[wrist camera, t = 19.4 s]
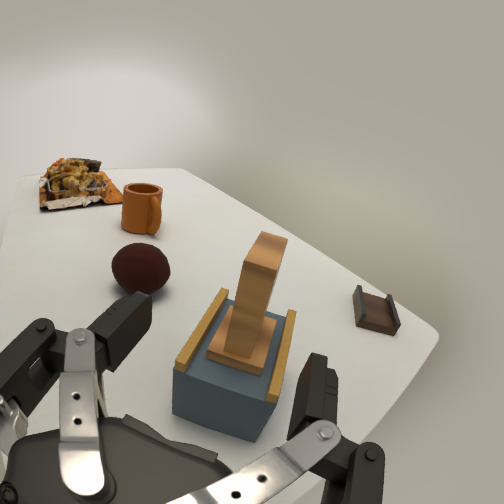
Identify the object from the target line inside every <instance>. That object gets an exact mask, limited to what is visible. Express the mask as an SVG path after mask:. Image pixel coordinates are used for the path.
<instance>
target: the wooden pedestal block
mask: <svg viewBox="0 0 504 504" xmlns="http://www.w3.org/2000/svg"><path fill="white" fill-rule="evenodd" d="M287 241H288V239H286V238H283V237H280V236H276V235H273V234H270V233H266V232H263V231H261V233H260V235H259V236H258V238H257V239H256V241H255V243H254V244H253V246H252V248H251V249H250V251H249V252H248V254H247V256H246V257H245V259H244V261H243V266H242V270H241V274H240V279H239V283H238V287H237V292H236V296H235V301H234V305H233V306H230V308H229V309H228V311H227V313H226V315H225V317H224V319H223V321H222V322H221V324H220V326H219V328H218V330H217V332H216V334H215V335H214V337H213V339H212V341H211V343H210V345H209V347H208V348H207V353H206V358H207V359H210V360H213V361H216V362H218V363H221V364H224V365H227V366H230V367H233V368H236V369H239V370H242V371H245V372H248V373H251V374H255V375H258V376H260V375H261V372H262V370H263V367H264V364H265V360H266V357H267V353H268V350H269V346H270V343H271V339H272V336H273V332H274V329H275V325H276V322H277V320H275V319H272V318H269V317H266V316H265V314H266V311H267V308H268V304H269V301H270V298H271V295H272V291H273V288H274V285H275V282H276V278H277V275H278V272H279V268H280V265H281V262H282V258H283V255H284V252H285V248H286V245H287Z"/></svg>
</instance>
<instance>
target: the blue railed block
mask: <svg viewBox="0 0 504 504" xmlns="http://www.w3.org/2000/svg"><path fill="white" fill-rule="evenodd" d="M228 293H229V290H227V289H224V288H221V289H220V291H219V293H218V294H217V296H216V297H215V299H214V300H213V302H212V303H211V305H210V307H209V308H208V310H207V311H206V313H205V314H204V316H203V318H202V319H201V321H200V322H199V324H198V325H197V327H196V328H195V330H194V332H193V333H192V335H191V336H190V338H189V339H188V341H187V343H186V344H185V346H184V347H183V349H182V350H181V352H180V354H179V355H178V357H177V358H176V360H175V366H174V368H173V394H172V413H173V414H175V415H177V416H180V417H182V418H185V419H187V420H190V421H192V422H195V423H197V424H200V425H203V426H205V427H208V428H211V429H214V430H217V431H219V432H222V433H225V434H229V435H232V436H235V437H238V438H241V439H245V440H248V441H252V442H256V440H257V438H258V437H259V435H260V433H261V432H262V430H263V428H264V426H265V425H266V423H267V421H268V419H269V418H270V416H271V414H272V412H273V410H274V409H275V407H276V405H277V401H278V397H279V395H280V390H281V386H282V381H283V377H284V372H285V367H286V363H287V358H288V353H289V348H290V343H291V338H292V333H293V327H294V322H295V317H296V311H294V310H290V309H289V310H288V313H287V315H286V317H284V316H280V315H277V314H274V313H270V312H267V311H266V314H265V316H266V317H269V318H272V319H275V320H277V322H276V325H275V329H274V332H273V336H272V339H271V343H270V346H269V350H268V353H267V357H266V360H265V364H264V367H263V370H262V372H261V375H260V376H258V375H255V374H251V373H248V372H245V371H242V370H239V369H236V368H233V367H230V366H227V365H224V364H221V363H218V362H216V361H213V360H210V359H207V358H206V353H207V348H208V347H209V345H210V343H211V341H212V339H213V337H214V335H215V334H216V332H217V330H218V328H219V326H220V324H221V322H222V321H223V319H224V317H225V315H226V313H227V311H228V309H229V308H230V306H233V305H234V301H233V300H230V299H227V298H228Z"/></svg>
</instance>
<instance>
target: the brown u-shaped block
mask: <svg viewBox="0 0 504 504" xmlns="http://www.w3.org/2000/svg"><path fill="white" fill-rule="evenodd" d="M353 302H354V310H355V319H356V326H358V327H362V328H366V329H369V330H373V331H377V332H381V333H384V334H388V335H392V336H394V335H395V334H396V332H397V330H398V329H399V327H400V325H401V323H400V320H399V317H398V314H397V310H396V307H395V304H394V301H393V298H392V295H390V294H388V295H387V297H386V298H385V299H384V298H381V297H378V296H374V295H371V294H368V293H364V292H363V291H362V286H360V285H357V287H356V290H355V292H354V294H353Z"/></svg>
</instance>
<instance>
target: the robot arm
mask: <svg viewBox="0 0 504 504" xmlns="http://www.w3.org/2000/svg"><path fill="white" fill-rule="evenodd" d="M151 322H152V297H151V296H149V295H146V294H144V293H141V292H139V291H137V292H135V293H134V294H133V295H132V296H131V297H130V298H128V297H124V298H121V299H119V300H117V301H116V302H114V303H113V304H112V305H111V306H110V308H108V309H107V310H106V311H105V312H104V313H103V314H101V315H100V316H99V317H98V318H97V319H96V320H95V321H94V322H93V323H92V324H91V325H90V326H89V327H88V328H86V329H83V328H79V329H75V330H73V331H71V332H70V333H68V332H64V331H60V330H56V329H55V327H54V324H53V322H52V321H51V320H49V319H46V318H40V319H37V320H35V321H33V322H32V323H31V324H30V325H29V326H28V327H27V328H26V329H25V330H24V331H22V332H21V333H20V334H19V335H18V336H17V337H16V338H15V339H14V340H13V341H12V342H11V343H10V344H9V345H8V346H7V347H6V348H5V349H4V350H3V351H2V352H1V353H0V450H2V451H3V452H4V453H5V454H6V455H7V456H8V463H7V470H6V474H5V477H4V480H3V481H2V483H1V484H0V504H263V503H265V502H266V501H268V500H269V499H271V498H272V497H273V496H275V495H276V494H278V493H279V492H280V491H282V490H283V489H285V488H286V487H287V486H289V485H290V484H291V483H293V482H294V481H295V480H297V479H298V478H299V477H301V476H302V475H303V474H304V473H306V472H307V471H310V472H312V473H314V474H316V475H318V476H320V477H323V478H325V479H326V482H325V486H324V491H323V496H322V500H321V504H382V495H383V484H384V468H385V454H384V451H383V449H382V448H381V447H380V446H379V445H378V444H376V443H373V442H365V443H362V444H361V445H358V444H356V443H354V442H352V441H350V440H348V439H346V438H345V437H343V436H342V435H341V432H340V429H339V428H338V427H337V403H338V397H337V396H338V377H337V375H336V372H335V370H334V369H330V368H327V360H328V358H327V356H324V355H320V354H316V353H313V352H312V353H311V354H310V356H309V358H308V360H307V362H306V364H305V366H304V368H303V370H302V372H301V374H300V376H299V379H298V382H297V387H296V393H295V398H294V404H293V409H292V415H291V420H290V425H289V430H288V435H287V439H286V440H287V441H288V442H287V443H285V444H284V445H282V446H281V447H276V448H274V449H272V450H270V451H269V452H267V453H266V454H264V455H263V456H261V457H259V458H258V459H256V460H255V461H253V462H251V463H250V464H248V465H246V466H244V467H243V468H241V469H239V470H238V471H236V472H234V473H233V472H232V471H231V470H230V469H229V468H228V467H227V466H226V465H225V464H224V463H222V462H221V461H219V460H218V459H216V458H217V456H218V453H216V452H213V451H210V450H207V449H204V448H201V447H199V446H196V445H192V444H186V443H180V442H175V441H170V440H167V439H165V438H164V437H163V436H161V435H160V434H159V433H158V432H156V431H155V430H154V429H152V428H151V427H150V426H149V425H147V424H145V423H143V422H141V421H139V420H137V419H135V418H133V417H131V416H130V415H128V414H126V415H125V416H124V418H123V419H122V418H117V417H108V414H107V410H106V403H105V394H104V382H103V372H104V371H105V370H106V369H107V370H109V371H111V372H113V373H114V371H115V370H116V369H117V368H118V366H119V365H120V364H121V363H122V361H123V360H124V359H125V358H126V357H127V355H128V354H129V353H130V352H131V350H132V349H133V348H134V347H135V346H136V344H137V343H138V342H139V341H140V340H141V338H142V337H143V336H144V335H145V334H146V332H147V331H148V330H149V328H150V325H151ZM39 357H40V358H39ZM38 358H39V359H38ZM37 359H38V360H37ZM36 360H37V361H36ZM35 361H36V362H35ZM34 362H35V363H34ZM33 364H34V365H33ZM32 365H33V366H32ZM31 366H32V367H31ZM30 367H31V368H30ZM59 377H60V384H59V424H60V429H56V430H52V431H47V432H43V433H38V434H33V435H28V436H25V435H26V434H27V428H28V419H27V418H28V417H29V415H30V414H31V413H32V411H33V410H34V409H35V407H36V406H37V405H38V403H39V402H40V401H41V400H42V398H43V397H44V396H45V394H46V393H47V392H48V391H49V389H50V388H51V387H52V386H53V384H54V383H55V382H56V381H57V379H58V378H59Z"/></svg>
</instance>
